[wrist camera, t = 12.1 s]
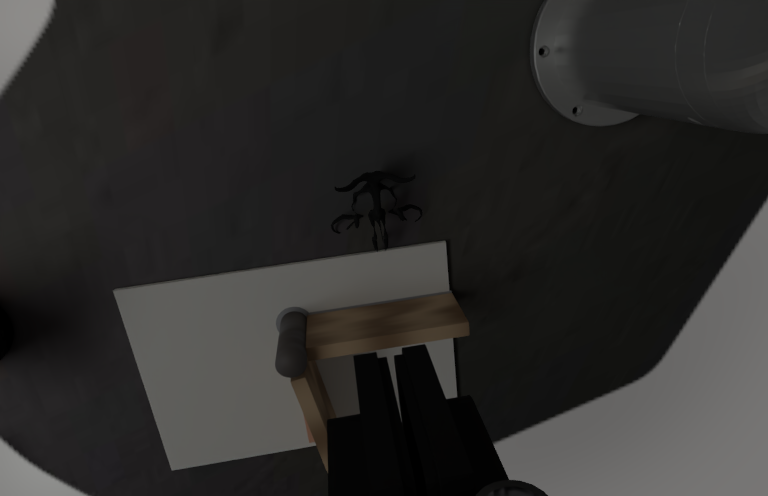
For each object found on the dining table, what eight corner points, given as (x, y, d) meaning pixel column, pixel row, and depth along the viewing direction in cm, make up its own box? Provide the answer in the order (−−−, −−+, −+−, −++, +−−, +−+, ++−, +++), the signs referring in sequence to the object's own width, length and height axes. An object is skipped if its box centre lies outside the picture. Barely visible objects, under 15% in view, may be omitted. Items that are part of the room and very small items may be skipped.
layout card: (446, 240, 45) (448, 241, 45) (459, 417, 52) (461, 420, 52) (114, 288, 43) (112, 291, 43) (172, 467, 50) (171, 471, 50)
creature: (421, 234, 46) (416, 152, 42) (434, 268, 42) (430, 180, 38) (335, 247, 46) (320, 166, 41) (339, 283, 41) (324, 196, 37)
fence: (450, 284, 47) (471, 321, 40) (451, 308, 48) (473, 348, 41) (278, 311, 46) (272, 353, 39) (283, 334, 47) (278, 380, 40)
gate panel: (293, 342, 46) (290, 381, 41) (306, 338, 46) (305, 377, 41) (333, 443, 50) (335, 492, 45) (345, 440, 50) (348, 488, 45)
